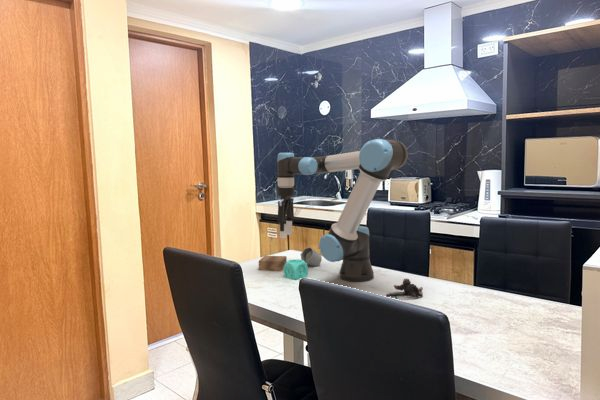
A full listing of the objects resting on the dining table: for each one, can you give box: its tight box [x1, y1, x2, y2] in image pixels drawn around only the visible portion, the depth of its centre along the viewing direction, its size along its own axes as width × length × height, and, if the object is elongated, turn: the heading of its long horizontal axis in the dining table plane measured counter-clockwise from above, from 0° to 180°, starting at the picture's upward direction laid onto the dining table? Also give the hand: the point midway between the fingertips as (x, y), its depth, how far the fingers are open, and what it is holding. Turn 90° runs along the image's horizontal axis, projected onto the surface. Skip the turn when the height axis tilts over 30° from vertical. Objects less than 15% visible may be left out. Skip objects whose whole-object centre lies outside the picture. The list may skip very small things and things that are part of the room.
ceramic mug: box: [299, 246, 323, 267], centre depth 212 cm, size 11×8×8 cm
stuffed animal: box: [385, 278, 424, 301], centre depth 164 cm, size 12×10×12 cm
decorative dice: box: [282, 258, 309, 281], centre depth 191 cm, size 8×8×8 cm
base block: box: [258, 255, 288, 272], centre depth 207 cm, size 11×11×6 cm
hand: (286, 236), depth 197 cm, fingers open, 7 cm apart
